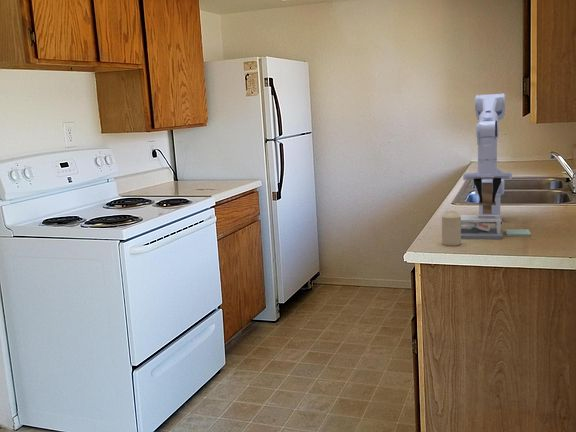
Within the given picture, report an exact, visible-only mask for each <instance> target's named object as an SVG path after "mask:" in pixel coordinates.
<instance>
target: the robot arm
mask: <svg viewBox="0 0 576 432" xmlns="http://www.w3.org/2000/svg"><path fill="white" fill-rule="evenodd" d="M474 103H475V104H474V109H475V117H476V120H478V122H476V126H475V127H476V128H475V129H476V130H475V131H476V133H475V135H476V142H477V143H476V144H477V171H476V172H465V173H464V172H463V174H462V175H463V177H462V178H463V180H462V181H468V180H469V181H470V180H471V181H472V180H473V184H474V193H475V195H478V202H479V201H480V203H482V183H492V202H496V205H492V214H483V205H479V204H478V215H499V216H500V220H501V223H502V222H503V220H502V215H501V196H502V195H504V193H505V180H512V179H513V173H512V172H510V171H509V172H504V171H502V170H501V169H500V168H499V167H498V139H499V134H500V133H499V131H500V130H499V127H500V126H499V121H501V120H503V119H504V118H505V115H506V114H505V113H506V94H505V93H504V92H502V93H493V94H476V95H475V97H474ZM479 219H495V218H479Z"/></svg>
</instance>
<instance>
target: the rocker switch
mask: <svg viewBox="0 0 576 432" xmlns="http://www.w3.org/2000/svg"><path fill="white" fill-rule="evenodd" d="M461 225H464V226H471V227H474V228H478V229H481V230H484V231H488V232H489V230H490V227H491V226H490V227H489V225H487V224H484V223H481V222H461Z"/></svg>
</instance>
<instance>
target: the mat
mask: <svg viewBox="0 0 576 432" xmlns="http://www.w3.org/2000/svg"><path fill="white" fill-rule="evenodd" d="M505 234H506V236H507V237H532V234H531V231H530V229H528V228H527V229H526V228H525V229H522V228H521V229H516V228H515V229H508V228H507V229H505Z"/></svg>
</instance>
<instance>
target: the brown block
mask: <svg viewBox="0 0 576 432" xmlns="http://www.w3.org/2000/svg"><path fill="white" fill-rule="evenodd" d="M479 205H483V214H492V205H496V202H492V183H482V203H480V201H479V200H478V206H479Z"/></svg>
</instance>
